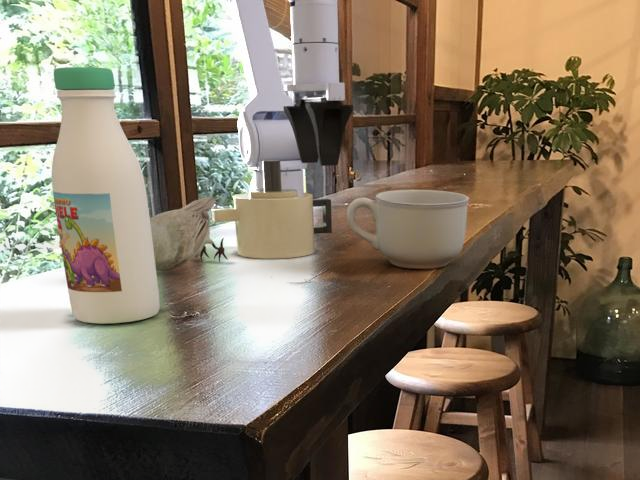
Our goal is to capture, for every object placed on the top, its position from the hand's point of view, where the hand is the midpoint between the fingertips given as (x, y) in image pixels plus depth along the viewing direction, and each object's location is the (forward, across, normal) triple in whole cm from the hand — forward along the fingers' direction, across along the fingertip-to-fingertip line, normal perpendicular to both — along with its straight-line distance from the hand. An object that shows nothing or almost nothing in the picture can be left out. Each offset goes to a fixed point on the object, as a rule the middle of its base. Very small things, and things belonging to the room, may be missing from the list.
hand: (319, 164), depth 104 cm
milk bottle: (+11, +30, -30) cm, 44 cm away
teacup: (+11, +18, +4) cm, 21 cm away
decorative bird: (+11, +10, -22) cm, 26 cm away
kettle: (+10, +2, -7) cm, 13 cm away
